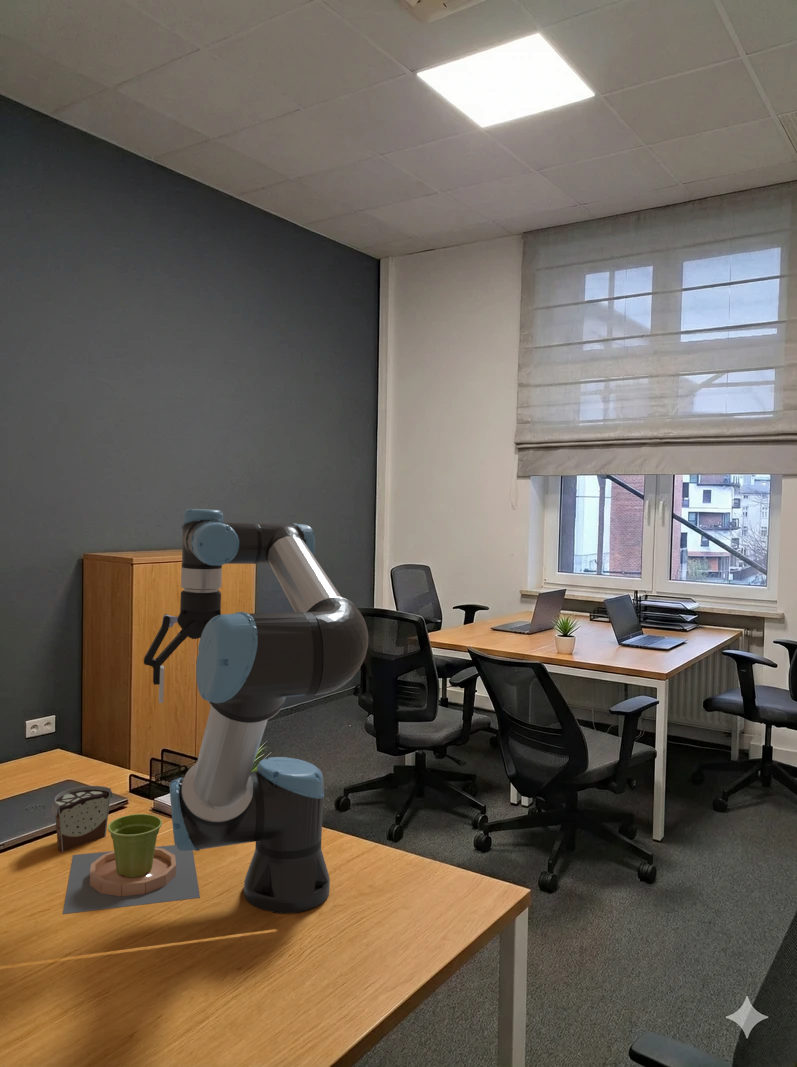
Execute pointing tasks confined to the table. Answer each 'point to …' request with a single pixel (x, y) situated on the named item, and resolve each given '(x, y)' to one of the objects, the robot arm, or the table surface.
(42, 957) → the table surface
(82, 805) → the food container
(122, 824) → the plant pot
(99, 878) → the saucer
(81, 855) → the desk mat
